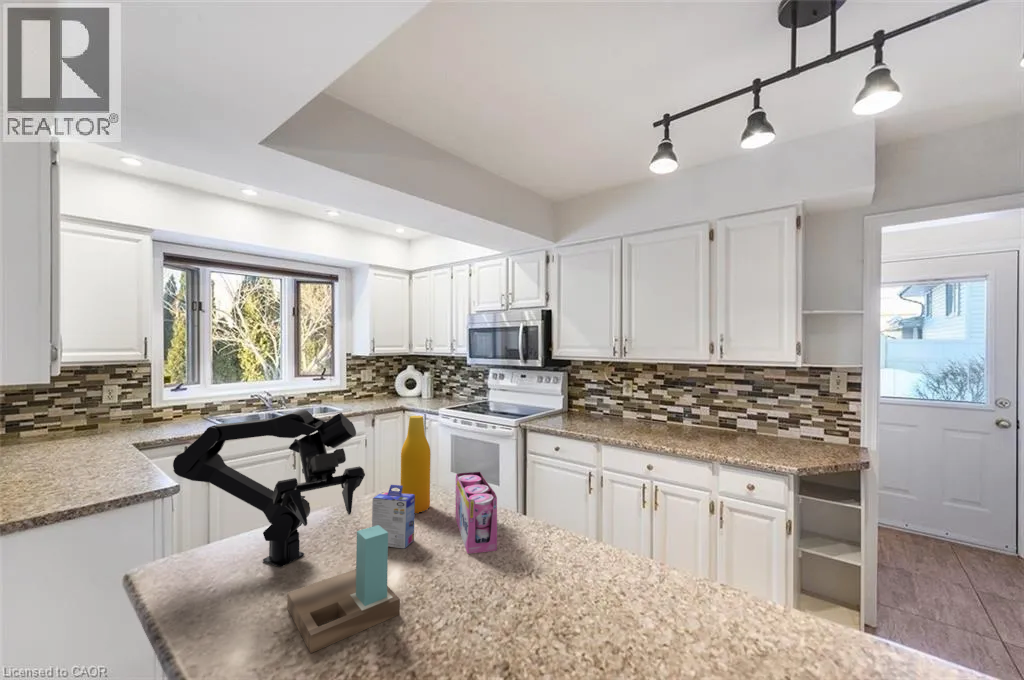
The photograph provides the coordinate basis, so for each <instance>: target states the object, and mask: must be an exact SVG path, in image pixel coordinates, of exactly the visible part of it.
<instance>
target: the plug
mask: <svg viewBox="0 0 1024 680" xmlns="http://www.w3.org/2000/svg"><path fill="white" fill-rule="evenodd" d="M388 553H389V547H388V532H387V531H386V530H384V529H383V528H382V527H381V526H379V525H377V526H373V527H372V526H370V527H367V528H363V529H359V530H357V531H356V556H355V558H356V559H355V560H356V565H355V566H356V567H355V569H356V596H357V597H358V599H359V600H360V601H361V602H362V603H363V605H364V606H366V605H369V604H371V603H374V602H376V601H379V600H381V599H384V598H386V597H387V586H388V572H389V571H388V567H389V566H388V563H389V562H388V559H389V558H388V557H389V556H388V555H389V554H388Z"/></svg>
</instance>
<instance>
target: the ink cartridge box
mask: <svg viewBox="0 0 1024 680" xmlns="http://www.w3.org/2000/svg"><path fill="white" fill-rule="evenodd" d="M402 488H403V486H401V484H399V485H398V484H390V486H389V488H388V492H382V491H381V492H380V493H378V494H377V495H375V496H374V497H373V498H372V505H371V506H372V509H371V510H372V511H371V527H373V526H377V525H379V526H381V527H382V528H383V529H384V530H386V531H387V532H388V548H389V547H391V548H397V549H406V548H407V547H408V546H410V544H412V543H413V542H414V541H415V514H414V511H415V494H402ZM392 489H399V490H398V491H397V490H392Z"/></svg>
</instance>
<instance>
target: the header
mask: <svg viewBox="0 0 1024 680" xmlns="http://www.w3.org/2000/svg"><path fill="white" fill-rule="evenodd" d="M286 595H287V596H286V597H287V599H286V603H287V604H286V608H287V610H288V612H289V614H290V616H291V618H292V620H293V622H294V624H295V626H296V628H297V630H298V631H299V633H300V635H301V637H302V639H303V641H304V644H305V645H306V646H307V648H308V651H309V653H310V654H312V653H315V652H317V651H320V650H322V649H324V648H326V647H329V646H331V645H333V644H335V643H337V642H340V641H342V640H344V639H347V638H349V637H351V636H354V635H356V634H358V633H360V632H362V631H363V632H364V631H366V630H367V629H369V628H372V627H374V626H377V625H379V624H381V623H383V622H386V621H388V620H390V619H392V618H395V617H397V616H399V615H400V614H401V610H400V609H401V605H400V604H401V598H400V597H399V596H398V595H397V594H396V593H395V592H394V591H393V590H392V589H391V588H390V587H389V586H388V585H387V597H386V598H384V599H381V600H379V601H376V602H374V603H371V604H369V605H366V606H364V605H363V603H362V602H361V601H360V600H359V599H358V597H357V596H356V568H355V569H352V570H349V571H346V572H343V573H339V574H337V575H335V576H331V577H329V578H328V577H327V578H326V579H322V580H320V581H316V582H313V583H310V584H308V585H307V584H306V585H305V586H302V587H298V588H295V589H293V590H291V591H287V594H286ZM337 617H338V618H337ZM335 618H336V619H335ZM333 619H334V620H333ZM328 621H329V622H328Z"/></svg>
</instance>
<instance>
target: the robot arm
mask: <svg viewBox="0 0 1024 680" xmlns="http://www.w3.org/2000/svg"><path fill="white" fill-rule="evenodd" d="M302 435H303V437H301V438H299V439H295V438H298V437H300V436H302ZM266 436H268V437H269V436H270V437H275V438H281V439H283V438H285V439H294V441H293V442H292V443H291V444H290V445H289V447H288V449H289V450H291V451H293V452H296V453H297V454H298V453H299V458H300V461H301V465H302V466H301V467H302V469H301V472H302V474H303V476H304V480H305V482H300V483H299V482H298V479H297V477H294V478H289V479H282V480H278V481H277V483H276V484H275V486H274V489H273V490H272V489H271V488H269V487H267V486H265V485H263V484H261V483H260V482H257V481H256V480H254V479H252V478H250V477H249V476H247V475H245V474H243V473H242V472H239V471H238V470H236V469H235V468H232V467H230V466H228V465H227V464H226V463H225V461H224V459H223V458H222V456H221V454H219V453H220V452H221V450H222V449H223V448H224V444H225V443H226V441H232V440H233V441H234V440H242V439H243V440H244V439H250V438H258V437H266ZM356 436H357V431H356V427H355V424H354V423H353V422H352V421H350V419H349V418H348V417H347V416H344V414H343V412H339V413H337V414H335V415H333V417H331V418H330V419H328V420H326V421H325V420H323V419H320V418H319V417H315V416H313V414H312V413H311V412H309V410H306V409H299V410H297V411H293V412H289V413H287V414H282V415H279V416H276V417H272V418H265V419H255V420H248V421H239V422H238V421H237V422H231V423H228V422H227V423H224V422H222V423H218V424H214V425H211V426H209V427H207V428H206V429H205V431H204V432H203V433H202V434H201V435H200V436H199V437H198V438H197V439H196V440H194V441H193V442H192V443H191V444H190V445H189V446H188V447H187V448H186V449H185V450H184V451H183V452H181V453H179V454H177V455H176V456H175V458H174V460H173V461H172V467H173V472H174V474H175V475H177V476H178V477H180V478H183V479H187V480H189V481H192V482H193V481H194V482H200V483H201V482H202V483H208V484H211V485H213V486H215V487H217V488H218V489H220V490H222V491H224V492H226V493H228V494H230V495H231V496H232V497H235V498H237V499H238V500H240V501H243V502H245V503H246V504H248V505H250V506H252V507H253V508H255V509H258V510H259V511H261V512H263V514H264V515H265V518H266V519H267V522H269V523H270V524H271V525H269V526H268V527H267V528H266V529H265V530H264V531H262V534H263V538H264V540H265V542H269V544H268V545H269V547H268V552H269V553H268V556H267V557H265V558H262V562H263V563H266V564H268V565H269V564H270V565H272V566H276V567H278V568H283V567H284V566H287V565H288V564H290V563H292V562H295V561H296V560H298V559H300V558H302V557H303V556H305V552H302V551H300V546H301V545H300V532H299V531H298V529H299V527H301V526H302V525H303V526H305V527H306V526H307V525H308V517H309V516H310V514H311V506H310V502H309V501H308V500H307V499H305V498H306V495H302V493H304V492H308V491H309V492H310V491H314V490H319V489H323V488H328V487H333V486H339V485H340V486H341V488H342V491H341V494H342V498H343V502H344V507H345V511H346V512H347V514H348V516H349V515H351V514H352V510H353V499H354V498H353V497H354V492H355V491H356V489H357V488H359V487H360V486H361V484H362V482H363V480H364V479H365V476H366V473H365V470H364V468H363V467H361V466H359V465H358V466H355V467H354V466H353V467H349V468H348V467H347V468H345V469H344V470H343V474H342V475H337V476H334V474H336V472H337V470H336V468H338V467H339V465H340V464H344V463H345V462H346V461H347V458H346V453H345V450H344V448H338V447H339V446H341V445H342V444H344V443H346V442H347V441H349V440H351V439H353V438H354V437H356ZM326 447H327V448H332V449H335V450H334V451H332V452H328V451H327V448H326Z"/></svg>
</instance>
